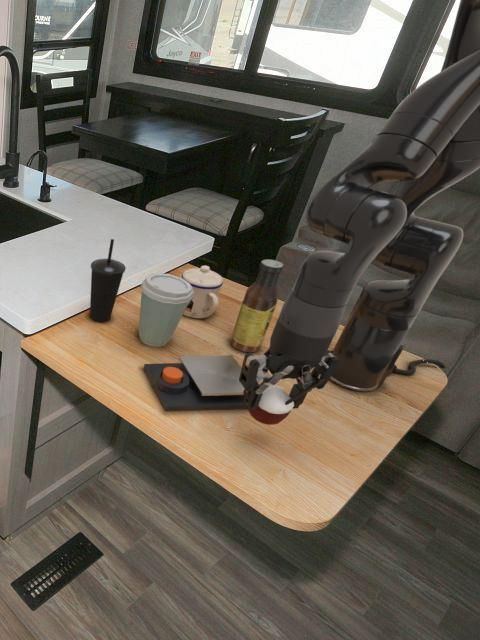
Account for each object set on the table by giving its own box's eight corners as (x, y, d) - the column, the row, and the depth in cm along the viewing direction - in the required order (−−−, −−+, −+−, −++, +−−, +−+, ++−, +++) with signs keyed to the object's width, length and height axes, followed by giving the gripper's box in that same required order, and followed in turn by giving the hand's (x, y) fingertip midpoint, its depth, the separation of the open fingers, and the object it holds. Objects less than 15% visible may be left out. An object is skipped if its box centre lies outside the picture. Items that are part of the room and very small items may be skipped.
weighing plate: (231, 357, 106) (232, 355, 106) (259, 394, 96) (260, 391, 96) (178, 358, 106) (179, 356, 105) (201, 396, 96) (202, 393, 96)
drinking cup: (78, 312, 127) (88, 235, 115) (105, 307, 128) (118, 231, 117) (93, 328, 121) (105, 248, 109) (122, 322, 122) (137, 244, 111)
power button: (177, 372, 103) (178, 366, 102) (183, 384, 100) (185, 377, 99) (159, 373, 102) (160, 366, 102) (165, 384, 100) (167, 378, 99)
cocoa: (232, 403, 91) (253, 348, 84) (264, 398, 92) (288, 343, 85) (266, 442, 84) (292, 385, 77) (301, 436, 84) (330, 380, 77)
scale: (228, 366, 108) (232, 355, 107) (259, 408, 98) (264, 396, 96) (141, 369, 108) (144, 357, 106) (163, 411, 97) (167, 399, 95)
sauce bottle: (263, 355, 112) (295, 272, 100) (232, 352, 113) (261, 269, 101) (255, 338, 117) (285, 258, 106) (226, 335, 118) (253, 255, 107)
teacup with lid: (167, 302, 130) (177, 259, 124) (200, 299, 132) (213, 257, 125) (191, 327, 121) (204, 283, 114) (227, 324, 122) (242, 280, 115)
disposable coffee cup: (151, 322, 123) (164, 264, 114) (189, 343, 115) (207, 284, 107) (120, 336, 118) (131, 277, 109) (158, 359, 111) (174, 298, 102)
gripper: (272, 337, 73) (238, 423, 83) (372, 334, 73) (327, 420, 83) (247, 309, 79) (218, 392, 89) (340, 306, 80) (301, 389, 89)
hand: (271, 405), depth 86 cm, fingers closed on cocoa, 6 cm apart
